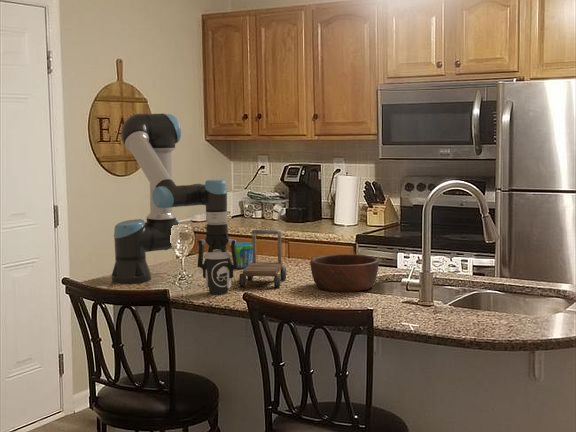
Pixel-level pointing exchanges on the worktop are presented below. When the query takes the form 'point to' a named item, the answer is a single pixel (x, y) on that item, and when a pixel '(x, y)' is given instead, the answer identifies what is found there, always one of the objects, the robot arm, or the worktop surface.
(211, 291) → the coffee cup
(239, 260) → the snack cup
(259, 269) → the trolley
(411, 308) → the worktop surface
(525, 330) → the worktop surface
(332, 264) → the wooden bowl
